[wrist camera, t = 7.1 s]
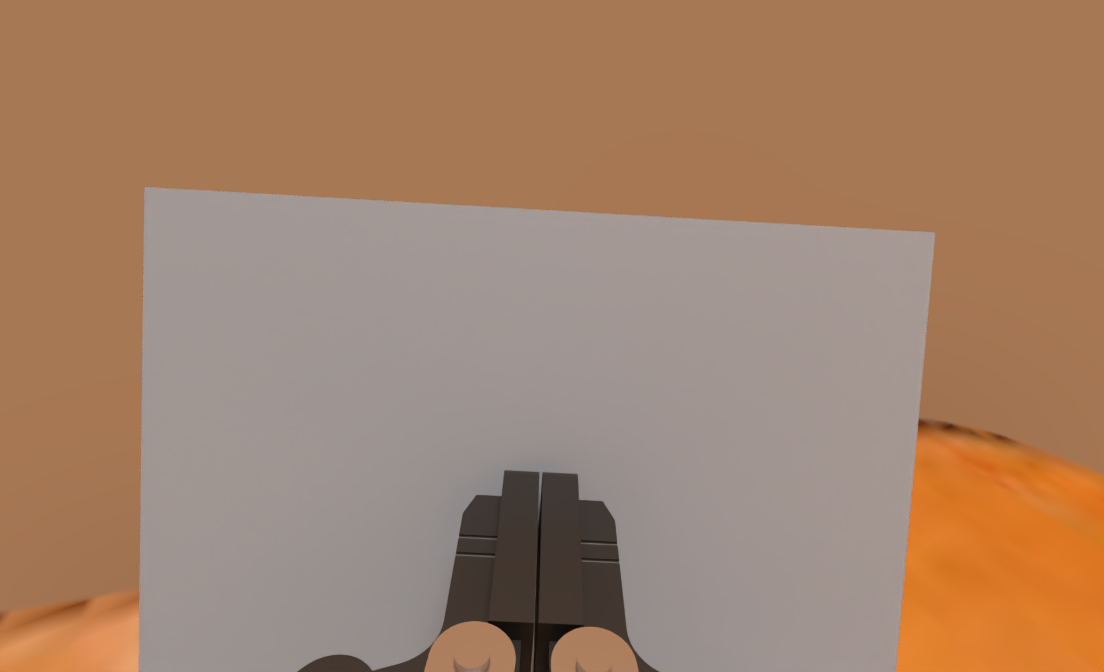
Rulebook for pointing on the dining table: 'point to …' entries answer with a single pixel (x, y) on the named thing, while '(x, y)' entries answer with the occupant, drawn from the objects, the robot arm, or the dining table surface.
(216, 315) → the flap
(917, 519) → the dining table surface
